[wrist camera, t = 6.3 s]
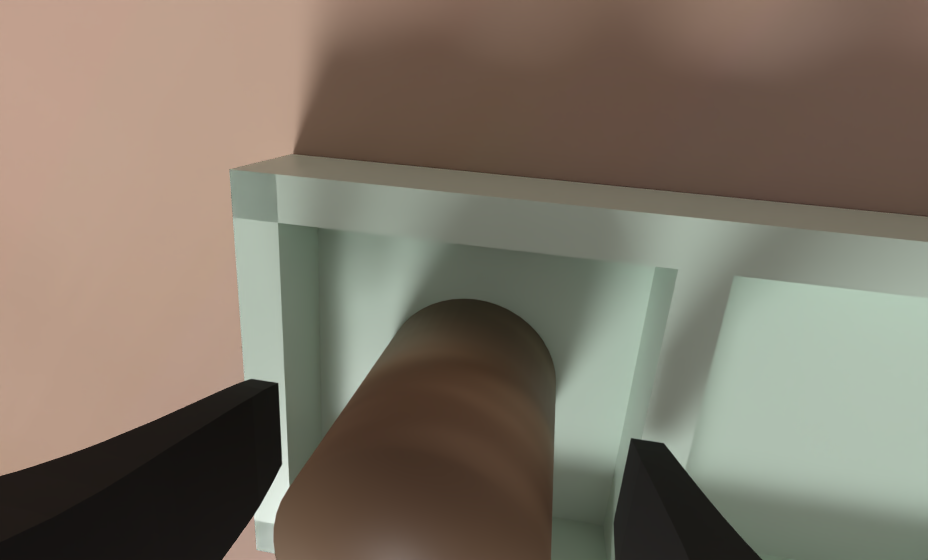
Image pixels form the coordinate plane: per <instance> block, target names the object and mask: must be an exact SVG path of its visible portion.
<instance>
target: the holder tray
mask: <svg viewBox="0 0 928 560" xmlns="http://www.w3.org/2000/svg"><path fill="white" fill-rule="evenodd" d="M229 170H230V184H231V198H232V212H233V226H234V240H235V254H236V268H237V282H238V296H239V310H240V324H241V338H242V352H243V366H244V380H245V381H246V380H249V379H256V380H263V381H269V382H276V383H278V385H279V405H280V426H281V447H282V466H281V468H280V470H279V472H278V473H277V475H276V477H275V479H274V481H273V483H272V485H271V487H270V489H269V491H268V492H267V494H266V496H265V498H264V500H263V501H262V503H261V505H260V507H259V508H258V510H257V511H256V513H255V514H254V519H255V533H256V547H257V550H259V551H264V552H269V553H274V554H275V550H274V543H273V533H274V523H275V517H276V513H277V510H278V508H279V505H280V502H281V500H282V498H283V497H284V495H285V493H286V492H287V490H288V488H289V487H290V485H291V484H292V483H293V481H294V480H295V478H296V477H297V475H298V474H299V472H300V471H301V470H302V468H303V467H304V465H305V464H306V462H307V461H308V459H309V458H310V457H311V455H312V454H313V452H314V451H315V449H316V448H317V447H318V445H319V444H320V442H321V441H322V439H323V438H324V436H325V435H326V434H327V432H328V431H329V429H330V428H331V426H332V425H333V423H334V422H335V421H336V419H337V418H338V416H339V415H340V413H341V412H342V410H343V409H344V408H345V406H346V405H347V403H348V402H349V400H350V399H351V397H352V396H353V395H354V393H355V392H356V390H357V389H358V387H359V386H360V385H361V383H362V382H363V380H364V379H365V377H366V376H367V374H368V373H369V372H370V370H371V369H372V367H373V366H374V364H375V363H376V361H377V360H378V359H379V357H380V356H381V354H382V353H383V351H384V350H385V348H386V347H387V346H388V344H389V343H390V341H391V340H392V338H393V337H394V336H395V334H396V333H397V331H398V330H399V329H400V327H401V326H402V325H403V324H404V323H405V322H406V321H407V320H408V319H409V318H410V317H411V316H412V315H414V314H415V313H417V312H418V311H420V310H421V309H423V308H425V307H427V306H429V305H432V304H435V303H438V302H441V301H445V300H451V299H477V300H482V301H487V302H490V303H493V304H496V305H499V306H501V307H504V308H506V309H508V310H510V311H512V312H513V313H515V314H516V315H518V316H520V317H521V318H522V319H523V320H525V321H526V322H527V323H528V324H529V325H530V326H531V327H532V328H533V329H534V330H535V331H536V332H537V333H538V334H539V336H540V337H541V338H542V340H543V341H544V343H545V345H546V347H547V348H548V350H549V352H550V355H551V358H552V360H553V364H554V368H555V375H556V400H555V435H554V470H553V504H552V539H551V560H615V549H614V525H613V522H614V517H615V512H616V508H617V503H618V498H619V493H620V488H621V484H622V479H623V474H624V469H625V464H626V460H627V455H628V450H629V445H630V440H631V438H634V439H641V440H647V441H654V442H660V443H664V444H665V445H666V446H667V448H668V449H669V450H670V451H671V453H672V454H673V455H674V456H675V458H676V459H677V460H678V462H679V463H680V464H681V465H682V467H683V468H684V469H685V470H686V472H687V473H688V474H689V476H690V477H691V478H692V479H693V481H694V482H695V483H696V484H697V486H698V487H699V488H700V489H701V491H702V492H703V493H704V494H705V495H706V497H707V498H708V499H709V500H710V502H711V503H712V504H713V505H714V506H715V507H716V509H717V510H718V511H719V512H720V513H721V515H722V516H723V517H724V518H725V519H726V520H727V522H728V523H729V524H730V525H731V526H732V527H733V528H734V529H735V531H736V532H737V533H738V534H739V535H740V536H741V537H742V538H743V540H744V541H745V542H746V543H747V544H748V545H749V546H750V547H751V548H752V549H753V550H754V551H755V552H756V553H757V554H758V555H759V557H760V558H761V559H762V560H928V217H925V216H915V215H905V214H895V213H885V212H875V211H865V210H854V209H844V208H834V207H824V206H814V205H804V204H794V203H783V202H773V201H763V200H753V199H743V198H733V197H723V196H712V195H702V194H692V193H682V192H672V191H662V190H652V189H641V188H631V187H621V186H611V185H601V184H591V183H581V182H570V181H560V180H550V179H540V178H530V177H520V176H510V175H500V174H489V173H479V172H469V171H459V170H449V169H439V168H429V167H418V166H408V165H398V164H388V163H378V162H368V161H358V160H347V159H337V158H327V157H317V156H307V155H297V154H290V155H286V156H282V157H278V158H274V159H270V160H266V161H262V162H258V163H254V164H249V165H245V166H241V167H237V168H233V169H229Z"/></svg>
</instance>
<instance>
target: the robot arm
mask: <svg viewBox="0 0 928 560" xmlns="http://www.w3.org/2000/svg"><path fill="white" fill-rule="evenodd" d="M281 466H282V447H281V426H280V405H279V385H278V383H276V382H269V381H263V380H256V379H249V380H246V381H243V382H241V383H238V384H236V385H233V386H231V387H228V388H226V389H224V390H222V391H219V392H217V393H215V394H213V395H210V396H208V397H206V398H204V399H201V400H199V401H197V402H195V403H193V404H190V405H188V406H186V407H184V408H181V409H179V410H177V411H175V412H173V413H170V414H168V415H166V416H164V417H161V418H159V419H157V420H155V421H152V422H150V423H147V424H145V425H143V426H140V427H138V428H135V429H133V430H130V431H128V432H126V433H123V434H121V435H118V436H116V437H113V438H111V439H109V440H106V441H104V442H101V443H99V444H96V445H94V446H91V447H88V448H86V449H83V450H80V451H77V452H75V453H72V454H69V455H66V456H63V457H60V458H57V459H54V460H51V461H48V462H45V463H42V464H39V465H36V466H33V467H30V468H27V469H23V470H20V471H17V472H13V473H10V474H6V475H2V476H0V560H222V559H223V558H224V556H225V555H226V553H227V552H228V551H229V549H230V548H231V547H232V545H233V544H234V542H235V541H236V540H237V538H238V537H239V535H240V534H241V533H242V531H243V530H244V528H245V527H246V526H247V524H248V523H249V521H250V520H251V518H252V517H253V516H254V514H255V513H256V511H257V510H258V508H259V507H260V505H261V503H262V501H263V500H264V498H265V496H266V494H267V492H268V491H269V489H270V487H271V485H272V483H273V481H274V479H275V477H276V475H277V473H278V472H279V470H280V468H281ZM613 525H614V549H615V560H762V559H761V558H760V557H759V555H758V554H757V553H756V552H755V551H754V550H753V549H752V548H751V547H750V546H749V545H748V544H747V543H746V542H745V541H744V540H743V538H742V537H741V536H740V535H739V534H738V533H737V532H736V531H735V529H734V528H733V527H732V526H731V525H730V524H729V523H728V522H727V520H726V519H725V518H724V517H723V516H722V515H721V513H720V512H719V511H718V510H717V509H716V507H715V506H714V505H713V504H712V503H711V502H710V500H709V499H708V498H707V497H706V495H705V494H704V493H703V492H702V491H701V489H700V488H699V487H698V486H697V484H696V483H695V482H694V481H693V479H692V478H691V477H690V476H689V474H688V473H687V472H686V470H685V469H684V468H683V467H682V465H681V464H680V463H679V462H678V460H677V459H676V458H675V456H674V455H673V454H672V453H671V451H670V450H669V449H668V448H667V446H666V445H665V444H664V443H660V442H654V441H647V440H641V439H634V438H631V440H630V445H629V450H628V455H627V460H626V464H625V469H624V474H623V479H622V484H621V488H620V493H619V498H618V503H617V508H616V512H615V517H614V522H613Z"/></svg>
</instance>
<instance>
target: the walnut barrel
mask: <svg viewBox="0 0 928 560" xmlns="http://www.w3.org/2000/svg"><path fill="white" fill-rule="evenodd" d="M555 400H556V375H555V368H554V364H553V360H552V358H551V355H550V352H549V350H548V348H547V347H546V345H545V343H544V341H543V340H542V338H541V337H540V336H539V334H538V333H537V332H536V331H535V330H534V329H533V328H532V327H531V326H530V325H529V324H528V323H527V322H526V321H525V320H523V319H522V318H521V317H520V316H518V315H516V314H515V313H513V312H512V311H510V310H508V309H506V308H504V307H501V306H499V305H496V304H493V303H490V302H487V301H482V300H477V299H451V300H445V301H441V302H438V303H435V304H432V305H429V306H427V307H425V308H423V309H421V310H420V311H418V312H417V313H415V314H414V315H412V316H411V317H410V318H409V319H408V320H407V321H406V322H405V323H404V324H403V325H402V326H401V327H400V329H399V330H398V331H397V333H396V334H395V336H394V337H393V338H392V340H391V341H390V343H389V344H388V346H387V347H386V348H385V350H384V351H383V353H382V354H381V356H380V357H379V359H378V360H377V361H376V363H375V364H374V366H373V367H372V369H371V370H370V372H369V373H368V374H367V376H366V377H365V379H364V380H363V382H362V383H361V385H360V386H359V387H358V389H357V390H356V392H355V393H354V395H353V396H352V397H351V399H350V400H349V402H348V403H347V405H346V406H345V408H344V409H343V410H342V412H341V413H340V415H339V416H338V418H337V419H336V421H335V422H334V423H333V425H332V426H331V428H330V429H329V431H328V432H327V434H326V435H325V436H324V438H323V439H322V441H321V442H320V444H319V445H318V447H317V448H316V449H315V451H314V452H313V454H312V455H311V457H310V458H309V459H308V461H307V462H306V464H305V465H304V467H303V468H302V470H301V471H300V472H299V474H298V475H297V477H296V478H295V480H294V481H293V483H292V484H291V485H290V487H289V488H288V490H287V492H286V493H285V495H284V497H283V498H282V500H281V502H280V505H279V508H278V510H277V513H276V517H275V523H274V533H273V543H274V550H275V556H276V560H551V539H552V504H553V470H554V435H555Z"/></svg>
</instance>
